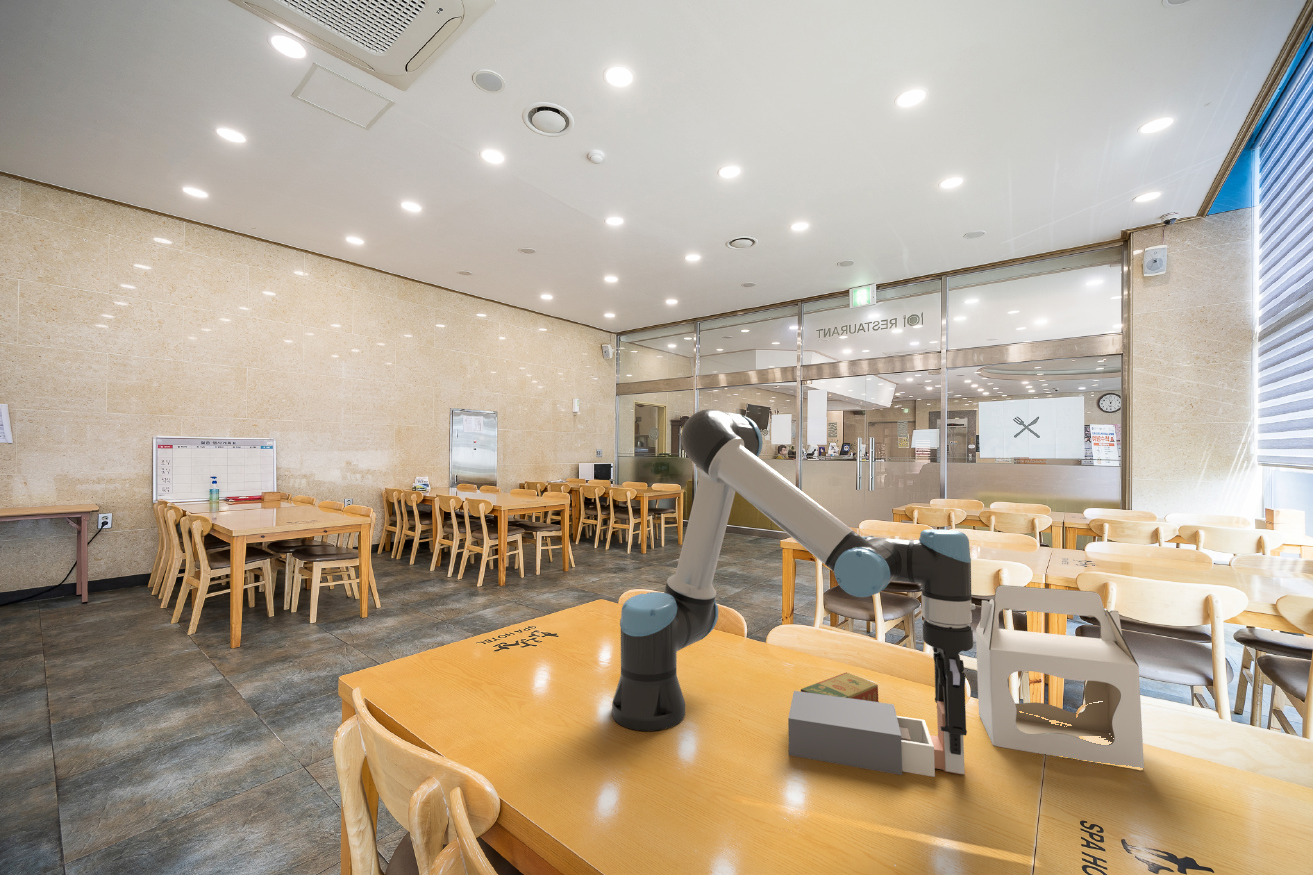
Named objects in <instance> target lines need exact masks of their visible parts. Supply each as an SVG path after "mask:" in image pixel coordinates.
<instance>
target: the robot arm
mask: <svg viewBox="0 0 1313 875" xmlns="http://www.w3.org/2000/svg"><path fill="white" fill-rule="evenodd" d="M680 439H681V446H682V449H683V451H684V453H685V455H686V456H687V457H688V459H689V460H690V461H691V463H693V464H694V465H695V468H696V470H697V472H698V474H699V476H698V482H697V486H696V488H695V489H696V490H695V494H694V498H693V502H692V506H691V510H690V514H689V518H688V522H687V526H686V530H685V535H684V539H683V543H682V547H681V550H680V555H679V558H678V563H677V567H676V571H675V573H674V574H673V575H670V576H669V577H668V578H667V580H666V583H665V588H664V592H659V591H658V592H655V591H652V592H650V591H649V592H647V593H639V594H637V595H633V596H631V597H629V598H628V599H627V600H626V601H625V602H624V603H623V605H622V606H621V613H620V620H619V627H620V676H619V680H618V683H617V686H616V689H615V693H614V695H613V699H612V704H611V714H612V718H613V720H614V721H615V722H616V723H617V724H618V725H620V726H622V727H624V728H628V729H630V730H634V731H646V732H647V731H648V732H651V731H661V730H666V729H669V728H672V727H674V726H675V727H676V725H678V724H680V723H681V722H682V721H683V720H684V718H685V717H686V701H685V697H684V695H683V692H682V689H681V685H680V682H679V681H680V680H679V678H678V676H677V675H678V674H677V673H678V672H677V671H678V670H677V653H678V652H679V651H681V650H683V649H684V648H687V647H688V646H689V647H690V646H691V645H693V644H695V643H697V642H699V641H701V640H704V639H705V638H706V637H707V636H708V635H710V634H711V632H712V631H713V630H714V628H715V627H716V626H717V625H716V624H717V623H718V618H719V605H718V604H717V602H716V601H717V599H716V597H717V590H716V589H715V588H714V585H713V582H714V577H715V573H716V570H717V565H718V561H719V557H720V555H721V554H720V553H721V549H722V545H723V543H724V538H725V534H726V529H727V526H728V523H729V519H730V514H731V510H732V507H733V503H734V499H735V496H736V493H737V494H739V495H740V497H742V498H743V499H745V501H747V502H748V503H749V504H751V505H752V506H753V507H755V508H756V510H758V511H759V512H760V513H762V514H763V515H764V516H765V517H767V518H768V519H769V520H770V521H771V522H773V523H774V524H775V525H776V526H778V528H780V529H781V530H783V532H784V533H786V534H787V535H788V536H789V537H790V538H792V539H793V540H794V541H796V542H797V543H798V544H799V545H801V546H802V547H803V548H805V550H807V551H808V552H809V553H810V554H812V555H813V556H814V557H815V558H816V559H818V560H819V561H820V562H821V563H823V564H824V566H826V567H827V568H828V569H829V570H831V571H832V572H833V574H834V577H835V580H836V583H837V584H838V585H839V587H840V588H841V589H842V590H843V591H844V592H845V593H846V594H849V595H850V596H853V597H857V598H869V597H871V596H874V595H877V594H879V593H880V592H881V591H884V590H885V589H886V588H887V586H888V585H889V584H890V583H891V582H902V583H904V582H905V583H912V584H920V585H921V595H920V596H921V616H922V617H923V618H924V619H923V621H922V639H923V640H922V641H923V642H924V643H925V644H927V646H930V647H932V652H933V661H934V692H935V693H934V696H935V697H934V702H935V704H937V701H941V702H944V712H945V727H943V726H940V727H941V731H944V754H945V770H946V771H949V772H948V773H951V772H954V773H953V774H957V773H960V774H959V775H963V774H966V773H965V772H966V771H965V772H964V770H965V747H964V746H965V745H964V739H965V738H964V737H966V736H967V733H968V731H967V716H966V714H967V713H966V711H967V710H966V690H965V689H966V678H967V677H966V673H965V672H964V670H965V667H964V666H965V665H964V660H963V659H961V656H960V653H961V652H968V651H971V650H972V649H973V647H974V630H973V629H974V628H973V627H972V625H971V623H972V622H973V613H972V610H976V605H975V603H972V557H971V550H970V540H969V539H970V538H969V537H968V535H966V534H965V533H964V532H962V531H958V530H952V529H934V528H933V529H931V528H929V529H923V530H922V531H921V532H920V535H919V538H918V539H900V538H889V537H876V536H874V535H867V536H861V535H860V534H858V533H857V532H855V531H854V530H853V529H852V528H851V527H849V525H847V524H845V523H844V522H843V521H841V519H839V518H837V517H836V516H835V515H834V514H832V513H831V512H830V511H828V510H827V509H826V508H825V507H823V506H822V505H820V504H819V503H818V502H816V500H814V499H812V498H811V497H810V496H809V495H807V493H805V492H804V491H802V490H801V489H799V488H798V487H797V486H796V485H794V484H793V483H792V482H791V481H789V480H788V479H786V477H783V475H782V474H780V473H779V472H778V471H776V470H775V469H774V468H772V467H771V466H770V465H768V464H767V463H766V462H764V460H762V459H760V457H759V456H760V455H761V453H762V452H761V451H762V450H763V435H762V433H761V430H760V428H759V427H758V425H757V423H756V422H755V421H754V420H752V419H751V418H750V417H747V416H745V415H742V414H740V413H736V412H729V411H722V410H718V409H712V408H709V409H702V410H699V411H697V412H695V413H693V414H691V416H690V417H689V418H688V419H687V420H686V421H685V423H684V425H683V427H682V430H681V437H680Z"/></svg>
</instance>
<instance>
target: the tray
mask: <svg viewBox="0 0 1313 875" xmlns="http://www.w3.org/2000/svg"><path fill="white" fill-rule="evenodd" d="M936 717H937V719H936V720H937V735H934V734H933V735H932V734H930V731H929V728H928V726H927V725H928V724H927V723H926V720H925V719H921V718H916V717H915V718H914V717H907V716H899V715H897V720H898V724H899V727H902V728H908V731H909V735H910V738H911V741H905V740H901V747H902V773H904V772H905V773H911V774H916V775H921V776H927V777H933V778H935V777H936V772H935V771H936V770H935V769H939V770H943V772H946V773H951V774H955V773H954V772H949V771H946V770H945V754H944V731H941V727H940V726H943V727H945V712H944V702H941V701H937V703H936ZM964 772H966V771H965V769H964ZM956 774H958V775H961V774H960V773H956ZM965 774H966V773H965ZM965 774H962V775H965Z"/></svg>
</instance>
